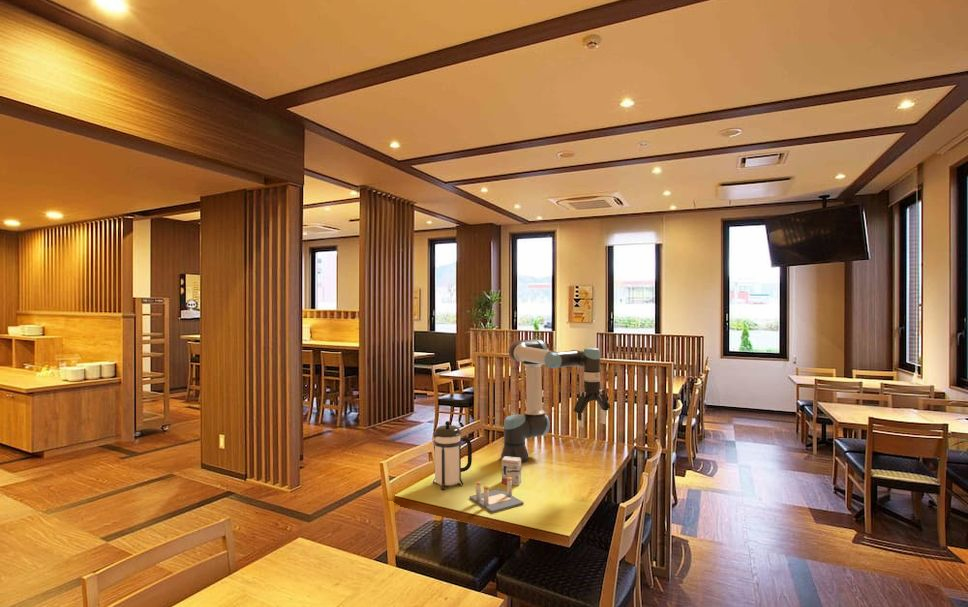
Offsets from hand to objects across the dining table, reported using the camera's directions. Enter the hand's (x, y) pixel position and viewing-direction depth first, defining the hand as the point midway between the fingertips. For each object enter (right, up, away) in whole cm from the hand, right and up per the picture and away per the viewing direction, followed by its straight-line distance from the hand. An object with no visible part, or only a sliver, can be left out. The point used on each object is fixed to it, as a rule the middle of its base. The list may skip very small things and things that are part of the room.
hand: (592, 425), depth 233 cm
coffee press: (-68, -28, -2) cm, 73 cm away
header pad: (-46, -27, -22) cm, 58 cm away
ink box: (-39, -28, -1) cm, 47 cm away
